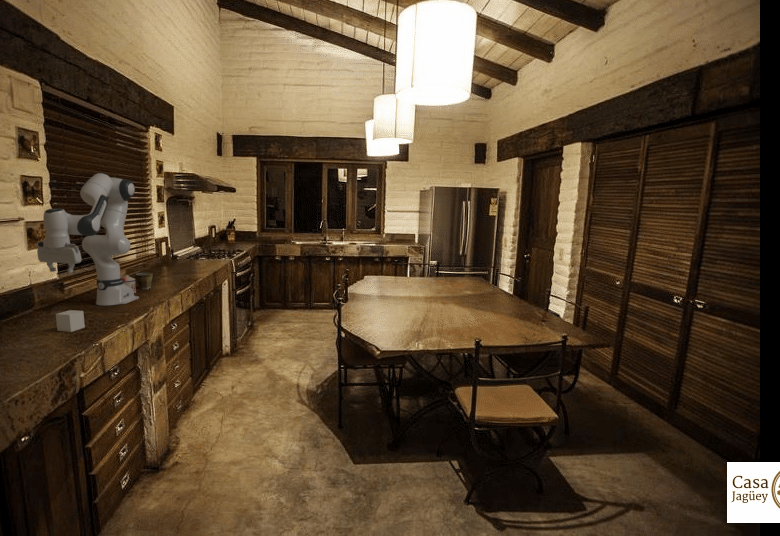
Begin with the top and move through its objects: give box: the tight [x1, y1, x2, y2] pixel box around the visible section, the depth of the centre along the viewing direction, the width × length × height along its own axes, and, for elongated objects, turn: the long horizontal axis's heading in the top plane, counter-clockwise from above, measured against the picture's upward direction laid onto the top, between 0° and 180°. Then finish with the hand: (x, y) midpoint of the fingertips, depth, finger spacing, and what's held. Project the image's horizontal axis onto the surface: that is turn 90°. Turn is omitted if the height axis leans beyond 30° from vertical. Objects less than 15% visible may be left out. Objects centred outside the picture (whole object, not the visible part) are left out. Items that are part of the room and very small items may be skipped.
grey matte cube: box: [55, 309, 86, 333], centre depth 187 cm, size 7×7×8 cm
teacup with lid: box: [123, 274, 137, 294], centre depth 261 cm, size 12×9×12 cm
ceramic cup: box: [135, 272, 154, 290], centre depth 276 cm, size 13×10×10 cm
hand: (61, 271), depth 196 cm, fingers open, 8 cm apart
